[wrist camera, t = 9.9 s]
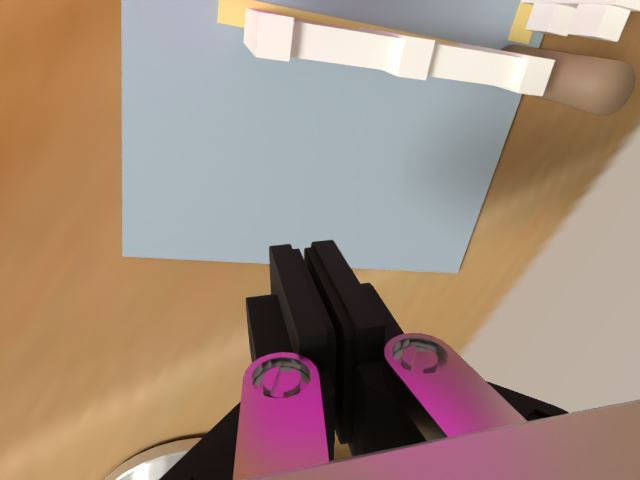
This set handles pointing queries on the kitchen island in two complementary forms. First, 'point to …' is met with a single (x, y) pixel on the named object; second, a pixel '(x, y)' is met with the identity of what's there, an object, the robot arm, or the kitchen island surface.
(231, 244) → the mat
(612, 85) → the fixed panel and post
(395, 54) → the swing panel
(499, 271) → the kitchen island surface
